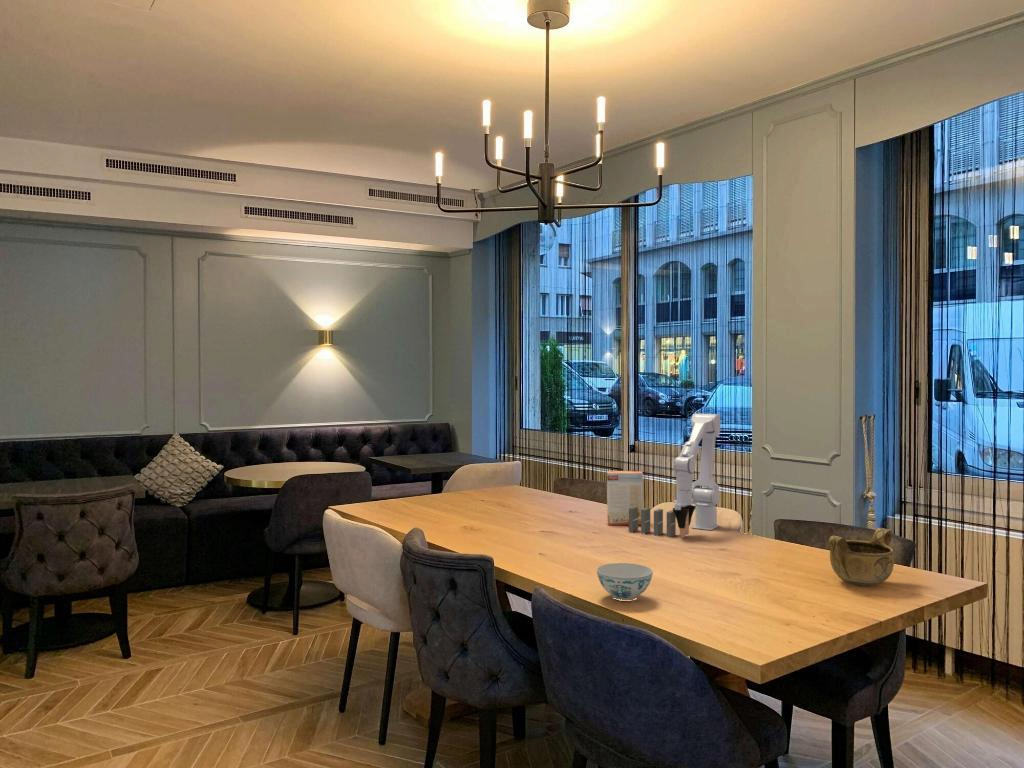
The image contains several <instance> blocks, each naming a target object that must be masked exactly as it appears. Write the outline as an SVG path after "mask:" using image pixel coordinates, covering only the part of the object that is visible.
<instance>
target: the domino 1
mask: <svg viewBox="0 0 1024 768" xmlns="http://www.w3.org/2000/svg"><path fill="white" fill-rule="evenodd" d="M649 531H650V532H651V507H643V509H642V510H641V526H640V534H641V533H647V532H649ZM650 532H649V533H650ZM647 534H648V533H647Z"/></svg>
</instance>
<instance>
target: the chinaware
mask: <svg viewBox="0 0 1024 768" xmlns="http://www.w3.org/2000/svg"><path fill="white" fill-rule="evenodd" d="M653 573H654V570H653V569H652V568H651V567H649V566H646V565H644V564H643V565H642V564H640V563H630V562H614V563H611V562H610V563H605V564H602V565H599V566H598V567H596V575H597V577H598V581H599V583H600V585H601V586H602V588H603V589H604V591H606V592H607V593H608V594H609V595H611V598H612V597H613V598H616V599H620V600H621V599H622V600H633V599H635V598H637V599H638V596H640V595H641V594H643V593H644V592H645V591H646V590H647V588H649V585H650V584H651V581H652V578H653ZM613 598H612V599H613Z"/></svg>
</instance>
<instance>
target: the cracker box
mask: <svg viewBox="0 0 1024 768" xmlns="http://www.w3.org/2000/svg"><path fill="white" fill-rule="evenodd" d="M606 490H607V491H606V505H607V506H606V508H607V509H606V510H607V511H606V512H607V514H606V515H607V521H606V522H607V525H608V526H629V508H631V507H634V506H636V507H638V526H639V525H641V510H642V509H644V473H643V471H641V470H639V471H637V470H607V471H606Z"/></svg>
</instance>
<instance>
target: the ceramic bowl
mask: <svg viewBox="0 0 1024 768" xmlns="http://www.w3.org/2000/svg"><path fill="white" fill-rule="evenodd" d="M892 537H893V532H892V530H891V529H888V528H882V527H878V528H876V530H875V531H874V533H873V535H872V539H871V540H870V541H865V540H855V539H853V540H852V539H851V540H850V539H845V537H842V536H837V535H831V536H830V537H829V539H828V545H829V549H830V551H829V558H830V559H829V561H830V565H831V567H832V570H833V573H834V574H835V575H836V576H837V577H838V578H840V580H842V581H843V582H845V583H847V584H849V585H851V584H852V586H855V587H862V588H871V587H875V586H878V585H880V584H881V583H884V582H885V581H887V580H888V579H889V578H890V576H891V575H892V573H893V570H894V566H895V565H894V564H895V556H894V550H893V548H892V547H891V546H890V543H891V541H892Z"/></svg>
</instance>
